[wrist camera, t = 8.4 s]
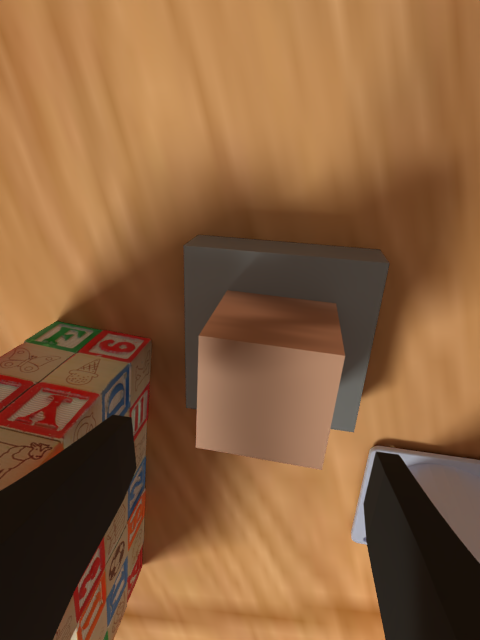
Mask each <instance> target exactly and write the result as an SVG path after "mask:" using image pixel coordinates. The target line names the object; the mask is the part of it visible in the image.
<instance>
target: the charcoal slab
mask: <svg viewBox="0 0 480 640" xmlns="http://www.w3.org/2000/svg"><path fill="white" fill-rule="evenodd" d="M388 268H389V262H388V260H387V259H386V258H385V256H384V255H383V253H382V252H381V251H380V250H378V249H366V248H354V247H341V246H329V245H317V244H305V243H293V242H280V241H268V240H256V239H244V238H231V237H219V236H207V235H197V236H196V237H195V238H193V239H192V240H190V241H189V242H188V243H186V244H185V245H184V301H185V370H186V408H191V409H197V383H198V346H199V334H200V333H201V331H202V330H203V328H204V326H205V325H206V323H207V322H208V320H209V318H210V317H211V315H212V314H213V312H214V311H215V309H216V307H217V306H218V304H219V303H220V301H221V299H222V298H223V296H224V295H225V293H226V291H227V290H230V291H238V292H247V293H255V294H263V295H271V296H279V297H288V298H296V299H304V300H312V301H321V302H329V303H336V305H337V311H338V317H339V323H340V329H341V334H342V340H343V346H344V352H345V359H344V364H343V369H342V374H341V379H340V384H339V389H338V394H337V398H336V403H335V408H334V413H333V418H332V423H331V428H330V429H335V430H342V431H349V432H354V429H355V425H356V420H357V415H358V410H359V406H360V401H361V396H362V391H363V387H364V382H365V377H366V372H367V368H368V363H369V358H370V353H371V349H372V344H373V339H374V334H375V330H376V325H377V320H378V316H379V311H380V306H381V301H382V297H383V292H384V287H385V282H386V278H387V273H388Z"/></svg>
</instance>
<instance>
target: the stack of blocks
mask: <svg viewBox="0 0 480 640" xmlns="http://www.w3.org/2000/svg"><path fill="white" fill-rule="evenodd" d="M151 345H152V342H151V339H148V338H143V337H138V336H133V335H128V334H123V333H117V332H112V331H107V330H98V329H93V328H88V327H83V326H79V325H74V324H69V323H63V322H59V321H56V322H54V323H53V324H51V325H49V326H48V327H46V328H44V329H43V330H41V331H39V332H38V333H36V334H35V335H33V336H32V337H30V338H28V339H27V340H25V342H24V343H23V344H21V345H19V346H17V347H16V348H14V349H13V350H11V351H9V352H8V353H6V354H4V355H3V356H1V357H0V491H1V490H2V489H4V488H6V487H7V486H9V485H11V484H12V483H14V482H16V481H17V480H19V479H20V478H22V477H23V476H25V475H27V474H28V473H30V472H31V471H33V470H34V469H36V468H37V467H39V466H40V465H42V464H43V463H45V462H47V461H48V460H50V459H51V458H53V457H54V456H56V455H57V454H58V453H60V452H61V451H63V450H64V449H65V448H67V447H68V446H70V445H71V444H73V443H74V442H75V441H77V440H78V439H80V438H81V437H82V436H84V435H85V434H86V433H88V432H89V431H91V430H92V429H93V428H95V427H96V426H97V425H99V424H100V423H102V422H103V421H104V420H106V419H107V418H109V417H110V416H112V415H119V416H126V417H132V426H133V436H134V446H135V456H136V466H137V468H136V471H135V474H134V476H133V479H132V481H131V484H130V486H129V489H128V491H127V494H126V496H125V498H124V501H123V502H122V504H121V506H120V508H119V510H118V512H117V514H116V516H115V517H114V519H113V521H112V523H111V525H110V527H109V528H108V530H107V532H106V534H105V536H104V537H103V539H102V541H101V543H100V545H99V546H98V548H97V550H96V552H95V554H94V555H93V557H92V559H91V561H90V563H89V565H88V566H87V568H86V570H85V572H84V574H83V575H82V577H81V579H80V581H79V583H78V585H77V587H76V589H75V591H74V593H73V596H72V598H71V600H70V602H69V605H68V607H67V609H66V611H65V614H64V616H63V618H62V620H61V623H60V625H59V627H58V629H57V632H56V634H55V636H54V639H53V640H113V639H114V637H115V634H116V632H117V630H118V627H119V625H120V622H121V620H122V617H123V615H124V612H125V609H126V607H127V602H128V600H129V598H130V596H131V593H132V591H133V588H134V586H135V584H136V581H137V579H138V576H139V573H140V571H141V568H142V550H143V548H142V546H143V542H144V515H145V499H146V488H145V471H146V455H145V454H146V434H147V420H148V410H149V383H150V382H149V381H150V369H151Z"/></svg>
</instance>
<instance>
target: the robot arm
mask: <svg viewBox="0 0 480 640" xmlns="http://www.w3.org/2000/svg"><path fill="white" fill-rule="evenodd" d="M136 468H137V466H136V456H135V446H134V436H133V426H132V417H126V416H119V415H112V416H110V417H109V418H107V419H106V420H104V421H103V422H102V423H100V424H99V425H97V426H96V427H95V428H93V429H92V430H91V431H89V432H88V433H86V434H85V435H84V436H82V437H81V438H80V439H78V440H77V441H75V442H74V443H73V444H71V445H70V446H68V447H67V448H65V449H64V450H63V451H61V452H60V453H58V454H57V455H56V456H54V457H53V458H51V459H50V460H48V461H47V462H45V463H43V464H42V465H40V466H39V467H37V468H36V469H34V470H33V471H31V472H30V473H28V474H27V475H25V476H23V477H22V478H20V479H19V480H17V481H16V482H14V483H12V484H11V485H9V486H7V487H6V488H4V489H2V490H1V491H0V640H53V639H54V636H55V634H56V632H57V629H58V627H59V625H60V623H61V620H62V618H63V616H64V614H65V611H66V609H67V607H68V605H69V602H70V600H71V598H72V596H73V593H74V591H75V589H76V587H77V585H78V583H79V581H80V579H81V577H82V575H83V574H84V572H85V570H86V568H87V566H88V565H89V563H90V561H91V559H92V557H93V555H94V554H95V552H96V550H97V548H98V546H99V545H100V543H101V541H102V539H103V537H104V536H105V534H106V532H107V530H108V528H109V527H110V525H111V523H112V521H113V519H114V517H115V516H116V514H117V512H118V510H119V508H120V506H121V504H122V502H123V501H124V498H125V496H126V494H127V491H128V489H129V486H130V484H131V481H132V479H133V476H134V474H135V471H136ZM351 537H352V540H353V541H355V542H357V543H361V544H367V547H368V552H369V557H370V562H371V568H372V573H373V578H374V583H375V588H376V593H377V598H378V603H379V608H380V613H381V618H382V623H383V628H384V633H385V639H386V640H480V460H476V459H469V458H462V457H455V456H448V455H441V454H434V453H427V452H420V451H413V450H406V449H398V448H391V447H384V446H374V447H372V448H371V449H370V451H369V455H368V460H367V464H366V468H365V473H364V477H363V482H362V486H361V491H360V495H359V499H358V504H357V508H356V513H355V517H354V522H353V526H352V530H351Z"/></svg>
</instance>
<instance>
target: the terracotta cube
mask: <svg viewBox="0 0 480 640" xmlns="http://www.w3.org/2000/svg"><path fill="white" fill-rule="evenodd" d="M344 359H345V352H344V346H343V340H342V334H341V329H340V323H339V317H338V311H337V305H336V303H329V302H321V301H312V300H304V299H296V298H288V297H279V296H271V295H263V294H255V293H247V292H238V291H230V290H227V291H226V293H225V295H224V296H223V298H222V299H221V301H220V303H219V304H218V306H217V307H216V309H215V311H214V312H213V314H212V315H211V317H210V318H209V320H208V322H207V323H206V325H205V326H204V328H203V330H202V331H201V333H200V334H199V346H198V383H197V420H196V448H201V449H207V450H213V451H218V452H224V453H230V454H235V455H241V456H246V457H252V458H258V459H263V460H269V461H275V462H280V463H286V464H292V465H297V466H303V467H309V468H314V469H320V470H322V467H323V462H324V457H325V452H326V448H327V443H328V438H329V433H330V428H331V423H332V418H333V413H334V408H335V403H336V398H337V394H338V389H339V384H340V379H341V374H342V369H343V364H344Z"/></svg>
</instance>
